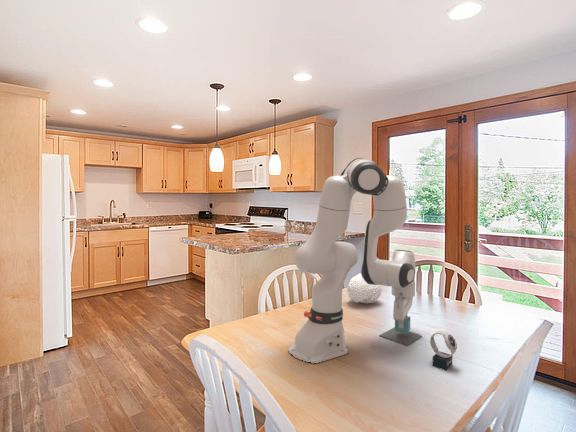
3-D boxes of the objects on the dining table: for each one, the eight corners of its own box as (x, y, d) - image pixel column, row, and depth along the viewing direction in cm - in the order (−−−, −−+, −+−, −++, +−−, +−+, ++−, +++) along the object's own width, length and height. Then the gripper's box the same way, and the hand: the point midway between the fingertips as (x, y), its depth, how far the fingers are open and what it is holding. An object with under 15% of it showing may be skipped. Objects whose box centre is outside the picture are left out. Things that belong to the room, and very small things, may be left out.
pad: (407, 345, 125) (407, 344, 125) (379, 336, 134) (379, 335, 134) (422, 336, 134) (422, 335, 134) (394, 328, 142) (394, 327, 142)
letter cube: (408, 333, 129) (408, 320, 129) (394, 331, 132) (394, 318, 131) (410, 329, 134) (410, 316, 133) (397, 326, 136) (397, 314, 136)
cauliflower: (358, 297, 188) (359, 268, 187) (388, 303, 176) (389, 272, 176) (340, 305, 172) (340, 274, 171) (372, 313, 161) (372, 279, 160)
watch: (452, 372, 106) (453, 338, 106) (427, 363, 112) (427, 331, 111) (458, 366, 110) (459, 333, 110) (433, 358, 116) (434, 327, 115)
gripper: (406, 298, 121) (406, 335, 122) (415, 285, 139) (415, 318, 140) (389, 295, 124) (388, 332, 125) (399, 283, 142) (399, 315, 143)
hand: (402, 324), depth 133 cm, fingers closed on letter cube, 5 cm apart
